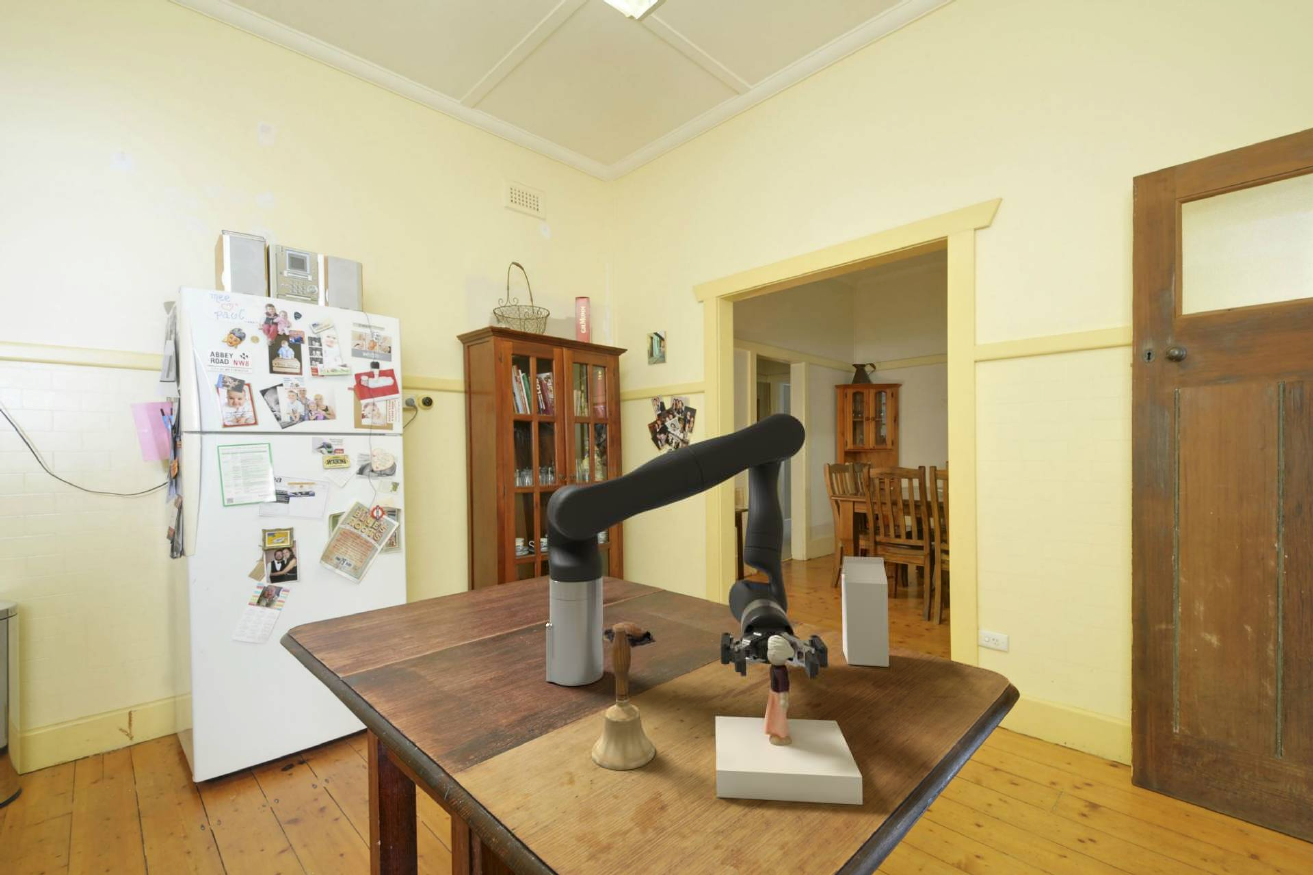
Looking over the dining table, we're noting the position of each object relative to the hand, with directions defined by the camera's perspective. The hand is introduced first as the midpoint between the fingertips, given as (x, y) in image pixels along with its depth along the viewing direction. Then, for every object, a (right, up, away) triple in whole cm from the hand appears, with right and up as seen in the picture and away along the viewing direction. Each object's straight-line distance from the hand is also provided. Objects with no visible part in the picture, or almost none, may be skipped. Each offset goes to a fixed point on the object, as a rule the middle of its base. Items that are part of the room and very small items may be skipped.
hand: (777, 670), depth 71 cm
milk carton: (+24, -12, +34) cm, 43 cm away
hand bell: (-20, -12, +2) cm, 23 cm away
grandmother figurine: (0, -9, 0) cm, 9 cm away
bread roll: (-22, -14, +47) cm, 54 cm away
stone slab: (0, -11, -2) cm, 12 cm away
